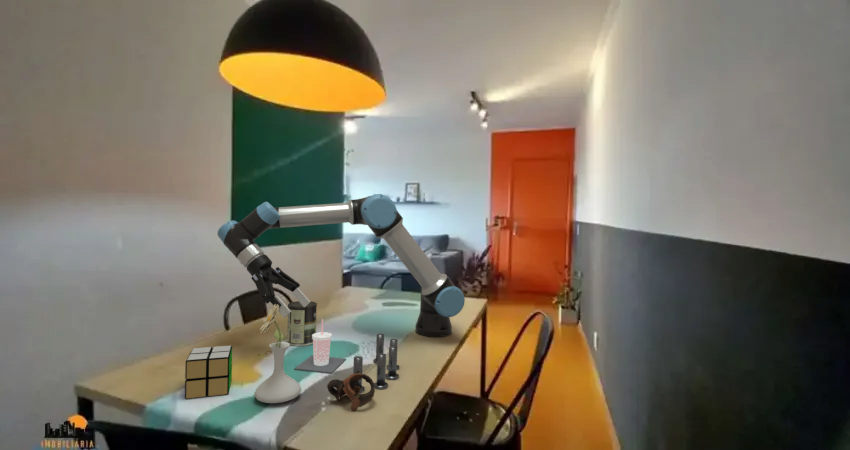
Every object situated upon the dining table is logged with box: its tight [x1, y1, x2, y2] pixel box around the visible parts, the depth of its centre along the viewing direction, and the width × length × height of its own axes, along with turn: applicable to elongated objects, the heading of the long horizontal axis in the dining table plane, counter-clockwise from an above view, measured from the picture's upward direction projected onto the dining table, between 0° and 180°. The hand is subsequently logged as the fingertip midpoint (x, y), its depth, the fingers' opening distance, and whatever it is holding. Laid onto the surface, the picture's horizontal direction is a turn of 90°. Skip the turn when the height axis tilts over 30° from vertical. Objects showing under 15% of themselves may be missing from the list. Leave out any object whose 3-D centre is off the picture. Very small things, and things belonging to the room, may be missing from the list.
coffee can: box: [286, 300, 318, 347], centre depth 152 cm, size 10×10×14 cm
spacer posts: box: [352, 333, 400, 394], centre depth 123 cm, size 26×11×9 cm, turn 170°
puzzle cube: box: [184, 345, 233, 400], centre depth 110 cm, size 10×10×10 cm
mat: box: [294, 354, 347, 375], centre depth 131 cm, size 12×12×1 cm
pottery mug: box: [326, 373, 376, 411], centre depth 105 cm, size 12×9×8 cm
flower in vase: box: [253, 304, 302, 404], centre depth 106 cm, size 13×11×25 cm
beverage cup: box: [312, 318, 333, 366], centre depth 131 cm, size 6×6×14 cm
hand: (298, 309), depth 134 cm, fingers open, 13 cm apart
